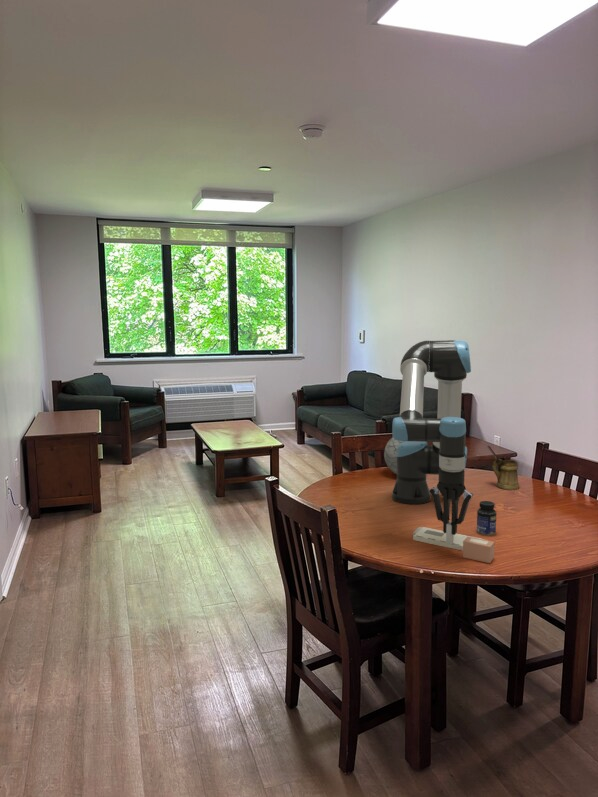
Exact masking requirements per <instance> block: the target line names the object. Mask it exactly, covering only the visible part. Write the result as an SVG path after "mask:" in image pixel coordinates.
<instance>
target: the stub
mask: <svg viewBox="0 0 598 797" xmlns="http://www.w3.org/2000/svg"><path fill="white" fill-rule="evenodd" d="M473 537H474V536H471V537H467V538H466V539H465V540H464V541H463V551H462V558H463V559H469V560H474V561H478V562H483V563H487V564H491V562H492V561H493V560H494V559H495V543H496V542H495V541H492V540H487V539H484V538H481V539H478V538H479V537H476V538H473ZM483 539H484V540H483Z"/></svg>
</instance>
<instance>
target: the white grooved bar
mask: <svg viewBox="0 0 598 797" xmlns="http://www.w3.org/2000/svg"><path fill="white" fill-rule="evenodd" d="M422 527H423V528H422V529H421V530H420V531H418V532H417V533H416V534H415V535H414V536H413V535H412V537H413V538H412V539H413V541H417V542H421V543H426V544H431V545H435V546H440V547H443V548H449V549H454V550H458V551H462V552H463V541H464V540H465V539H466V538H467V537H473V538H478V539H483V540H485V539H484V538H480V537H475V536H471V535H470V536H469V535H466V534H465V535H464V534H459V533H456V534H455V535H454V543H453V544H452V545H446V533H444V532H443V530H440V529H435V528H430V527H424V526H422Z"/></svg>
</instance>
